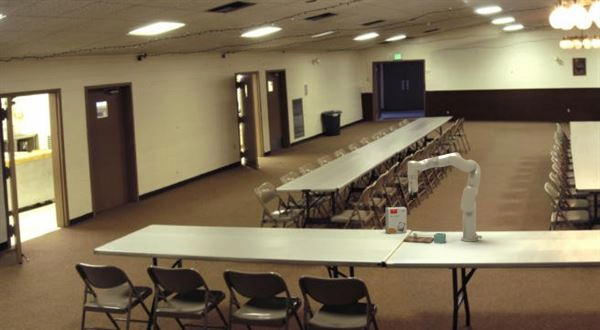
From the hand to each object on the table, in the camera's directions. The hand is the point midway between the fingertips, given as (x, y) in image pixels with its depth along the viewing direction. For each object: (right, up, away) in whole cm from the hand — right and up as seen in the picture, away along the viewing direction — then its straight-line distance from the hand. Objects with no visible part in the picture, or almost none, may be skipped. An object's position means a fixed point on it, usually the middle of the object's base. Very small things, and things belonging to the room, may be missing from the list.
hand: (413, 199), depth 547 cm
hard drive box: (-10, -28, +21) cm, 36 cm away
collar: (+17, -31, -17) cm, 39 cm away
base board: (+3, -31, -10) cm, 32 cm away
